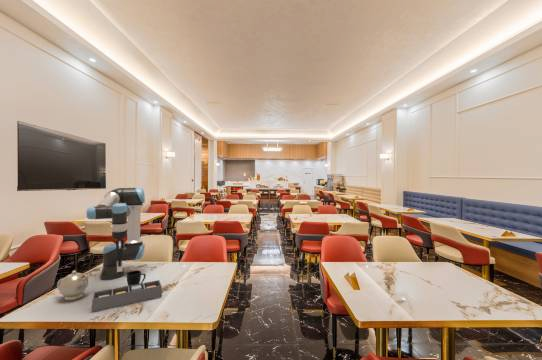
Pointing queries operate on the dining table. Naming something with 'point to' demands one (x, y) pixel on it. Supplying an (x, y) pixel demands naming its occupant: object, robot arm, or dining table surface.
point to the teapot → (73, 286)
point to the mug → (134, 277)
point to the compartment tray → (125, 296)
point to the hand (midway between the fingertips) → (119, 271)
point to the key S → (136, 287)
